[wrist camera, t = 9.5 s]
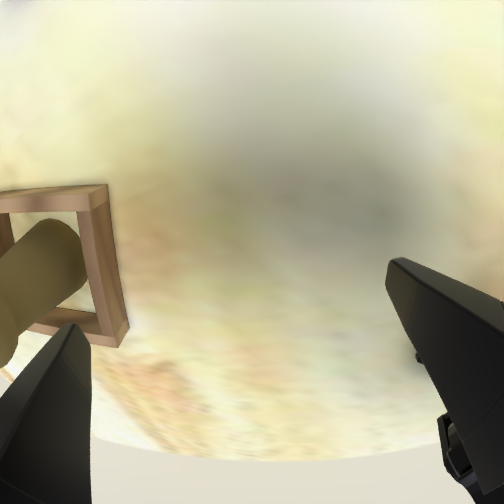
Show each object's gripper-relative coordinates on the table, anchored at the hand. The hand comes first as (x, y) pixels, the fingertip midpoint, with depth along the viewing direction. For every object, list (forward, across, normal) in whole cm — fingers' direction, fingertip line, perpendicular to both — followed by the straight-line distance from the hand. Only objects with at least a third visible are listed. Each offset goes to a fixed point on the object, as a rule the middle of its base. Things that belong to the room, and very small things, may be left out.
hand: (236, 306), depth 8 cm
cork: (+14, +12, +4) cm, 19 cm away
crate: (+15, +17, +4) cm, 23 cm away
